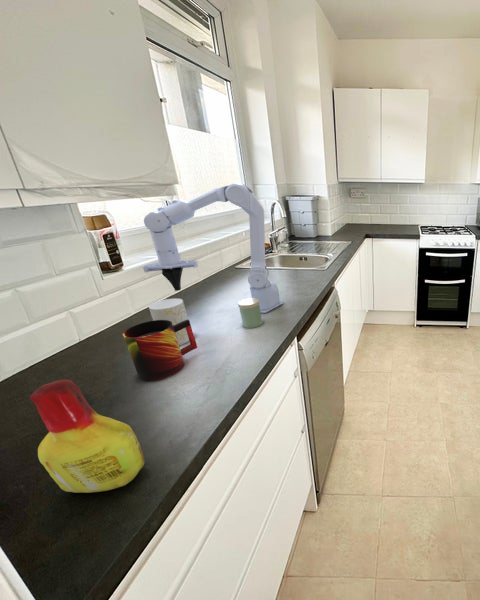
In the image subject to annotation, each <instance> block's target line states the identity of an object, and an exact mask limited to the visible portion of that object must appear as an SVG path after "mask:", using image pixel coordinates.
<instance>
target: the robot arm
mask: <svg viewBox="0 0 480 600" xmlns="http://www.w3.org/2000/svg"><path fill="white" fill-rule="evenodd" d="M216 202H221V203H228V202H230V203H231V204H233V205H235V206H237V207H239V208H240V209H242V210H243V211H244V212H245V213H247V214H248V216H249V217H248V219H249V244H250V247H249V248H250V271H249V272H250V273H249V275H248V276H247V282H248V284H249V290H250V296H251V297H250V298H257V299H259V303H260V304H259V305H260V311H261V314H267V313H268V312H271V311H272V310H274V309H277V308H278V307H279V306H281V305H283V302H281V297H280V292H279V287H278V285H277V284H276V283H275V282H274V281H270V280H269V272H270V271H269V269H268V268H267V266H266V265H267V262H266V238H265V236H266V233H265V231H266V230H265V209H264V206H263V205H262V204H261V202H260V201H259V199H258V198H257V196H256V195H255V192H254V191H253V190H252V189H251V188H249V186H248V185H246V184H244V183H242V182H234V183H230V184H229V185H224V186H220V187H216V188H213V189H211V190H209V191H208V192H205V193H203V194H201V195H199V196H197V197H195V198H193V199H191V200H189V201H187V200H184V199H179V200H178V199H174V200H172V201H171V204H168V205H166V206H163V207H162V206H160V207H158V208H157V209H156V210H157V211H152V212H149V213H148V214H146V215H145V216H144V218H143V224H144V226H145V227H146V228H147V229H148V230H149V233H150V235H151V239H152V244H153V246H154V250H155V253H156V257H157V259H158V263H152V264H144V265H143V266H142V270H143V272H144V273H149V272H158V271H161V274H162V276H163V277H164V278H165V279H166V280H167V281H168V282H169V283H170V284H171V286H172V287H173V289H174V291H176V292H178V291H181V289H182V287H181V280H182V274H183V271H184V269H188V268H198V267H199V265H198V260H181V257H180V253H179V250H178V246H177V242H176V238H175V235H174V233H173V228H172V226H176V225H178V224H181V223H183V222H186V221H187V220H190V219H193V217H195V212H196V211H197V210H200V209H203V208H206V207H207V206H210V205H211V204H214V203H216Z"/></svg>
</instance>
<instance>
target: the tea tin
mask: <svg viewBox="0 0 480 600" xmlns="http://www.w3.org/2000/svg"><path fill="white" fill-rule="evenodd" d="M259 304H260V303H259V299H257V298H252V297H249V298H244V299H241V300H239V301H238V302H237V305H238V308H239V312H240V317H241V322H242V325H243V326H242V327H243V328H246V329H252V328H257V327H260V326H261V325H263V322H264V321H263V317H262V313H261V311H260V305H259Z"/></svg>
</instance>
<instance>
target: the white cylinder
mask: <svg viewBox="0 0 480 600" xmlns="http://www.w3.org/2000/svg"><path fill="white" fill-rule="evenodd" d="M148 309H149V313H150V316H151V318H152V321H154V320H168V321H171V322H172V325H176V324H178V323H180V322H182V321H185V320H189V317H188V314H187V309H186V307H185V303H184V300H183V299H182V298H178V297H177V298H176V297H175V298H166V299H161V300H157V301H155V302H152V303H151V304H150V305H148ZM175 334H176V338H177V341H178V344H179V346H181V345H185V344H186V343H189V342H190V341H189V338H188V334H187V331H186V328H184V329H181V330H179V331H177V332H175Z"/></svg>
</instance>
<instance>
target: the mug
mask: <svg viewBox="0 0 480 600" xmlns="http://www.w3.org/2000/svg"><path fill="white" fill-rule="evenodd" d="M184 328H186V331H187V334H188V338H189V341H188V342H189V344H188V345H186V346H184V347H183V348H180V345H179V344H178V341H177V338H176V334H175V332H177V331H179V330H181V329H184ZM122 336H123V339H124V342H125V344H126V347H127V350H128V352H129V355H130V358H131V361H132V364H133V366H134V369H135V371H136V373H137V376H138V379H139V380H141V381H142V382H156V381H160V380H164V379H167V378H170V377H172V376H174V375H176V374H177V373H179V372H180V371H182V370H183V369H184V367H185V361H184V358H183V356H185V355H186V354H188V353H190V352H192V351H194V350H196V349H198V344H197V342H196V337H195V334H194V332H193V329H192V325H191V321H190V319H188V320H185V321H182V322H180V323H178V324H176V325H172V322H171V321H168V320H154V321H153V320H149V321H144V322H141V323H138V324H135V325H133V326H131V327H129V328H127V329H125V330H124V331H123V332H122Z"/></svg>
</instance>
